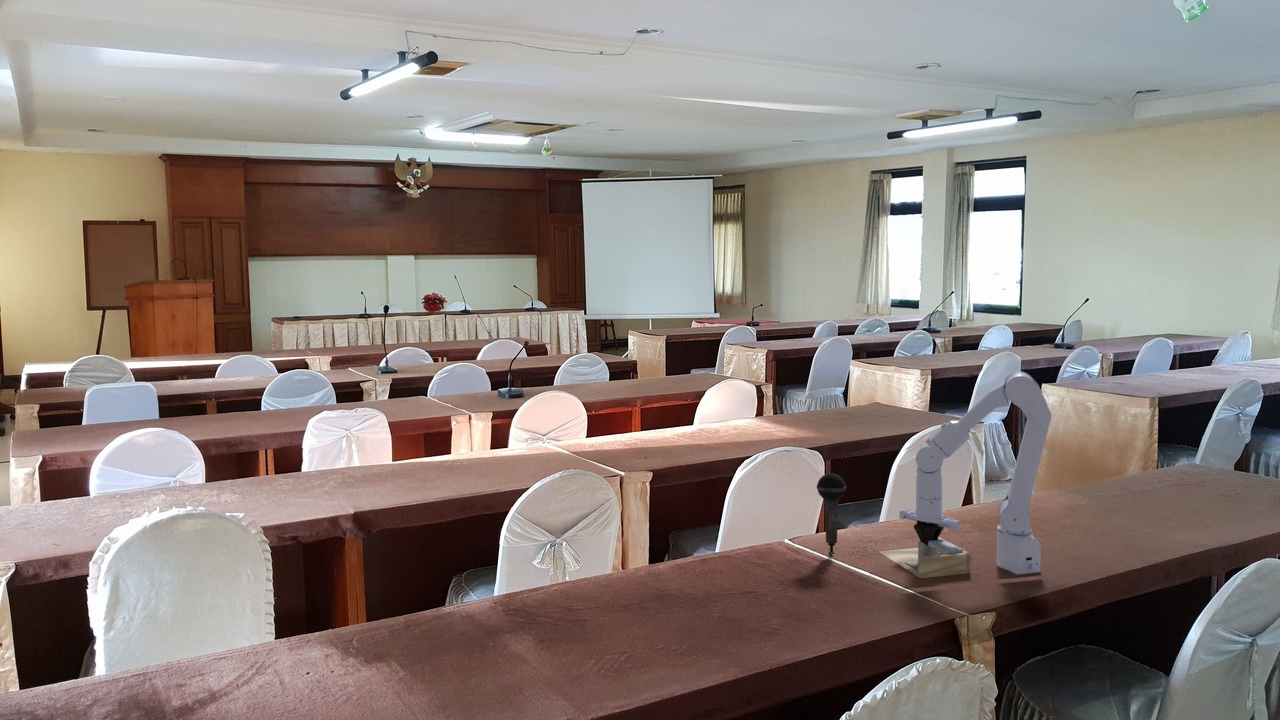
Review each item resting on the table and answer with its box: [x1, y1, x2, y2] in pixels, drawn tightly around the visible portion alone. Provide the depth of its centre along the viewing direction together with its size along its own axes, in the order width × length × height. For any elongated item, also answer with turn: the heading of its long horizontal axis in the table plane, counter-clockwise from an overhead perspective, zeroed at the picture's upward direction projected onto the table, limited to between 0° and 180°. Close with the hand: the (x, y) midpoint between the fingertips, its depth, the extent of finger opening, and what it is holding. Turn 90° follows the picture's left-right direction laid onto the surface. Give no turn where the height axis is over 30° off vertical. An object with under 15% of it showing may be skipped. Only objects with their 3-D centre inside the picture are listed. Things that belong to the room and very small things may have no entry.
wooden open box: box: [878, 536, 972, 579], centre depth 216 cm, size 20×12×6 cm, turn 12°
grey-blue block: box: [928, 539, 964, 555], centre depth 212 cm, size 8×4×5 cm, turn 16°
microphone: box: [816, 472, 847, 557], centre depth 223 cm, size 7×7×20 cm
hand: (928, 554), depth 218 cm, fingers closed
